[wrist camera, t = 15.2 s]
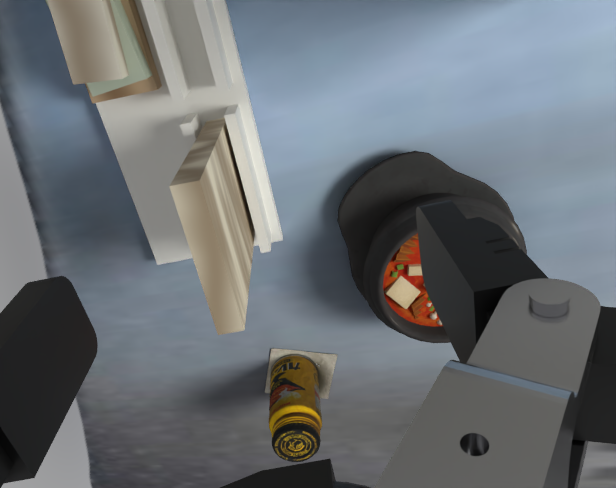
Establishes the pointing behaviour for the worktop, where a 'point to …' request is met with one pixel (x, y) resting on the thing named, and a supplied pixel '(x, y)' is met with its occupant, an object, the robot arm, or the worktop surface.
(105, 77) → the offcut ash
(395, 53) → the worktop surface
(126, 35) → the offcut sage
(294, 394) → the condiment
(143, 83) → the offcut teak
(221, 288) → the birch sheet
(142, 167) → the rack
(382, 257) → the casserole
